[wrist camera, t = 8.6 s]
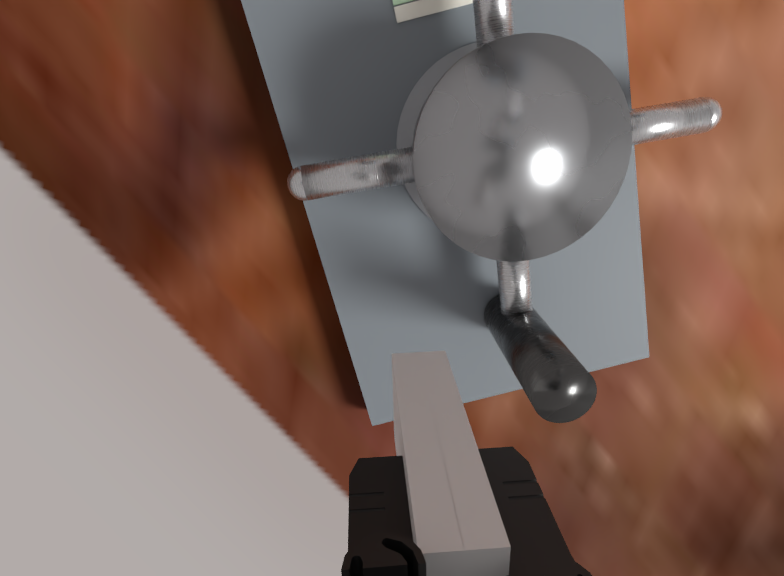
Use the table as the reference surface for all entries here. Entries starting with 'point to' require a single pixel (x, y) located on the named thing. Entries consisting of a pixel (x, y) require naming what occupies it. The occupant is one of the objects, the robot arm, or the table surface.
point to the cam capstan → (518, 175)
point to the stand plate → (402, 202)
